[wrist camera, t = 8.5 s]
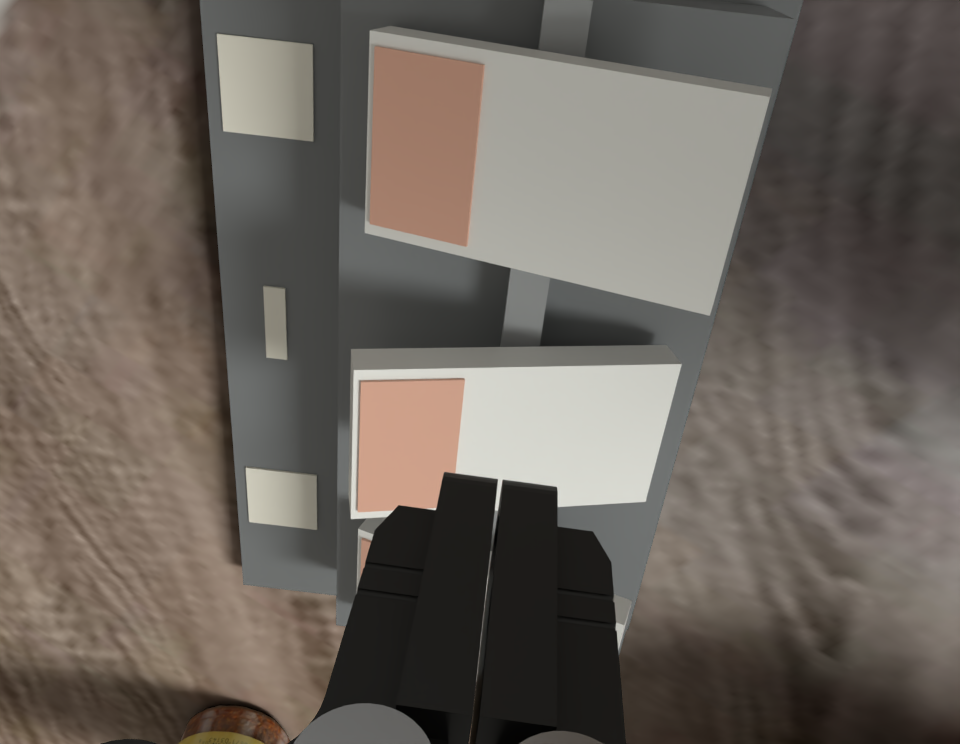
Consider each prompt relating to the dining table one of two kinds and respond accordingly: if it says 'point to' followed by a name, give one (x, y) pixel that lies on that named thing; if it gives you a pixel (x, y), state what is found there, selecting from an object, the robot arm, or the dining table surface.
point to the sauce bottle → (233, 727)
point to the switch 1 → (558, 163)
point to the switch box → (410, 251)
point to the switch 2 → (506, 421)
